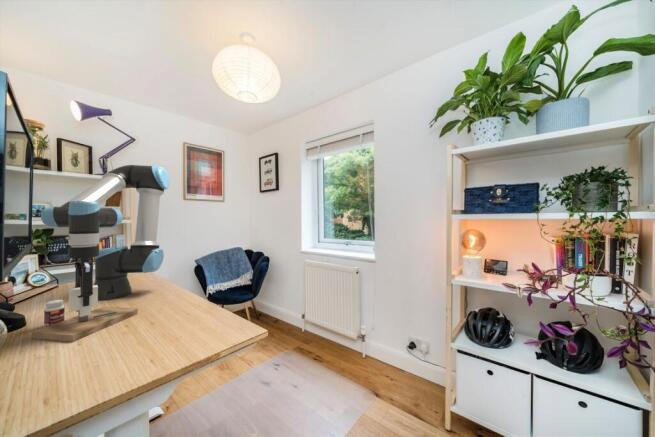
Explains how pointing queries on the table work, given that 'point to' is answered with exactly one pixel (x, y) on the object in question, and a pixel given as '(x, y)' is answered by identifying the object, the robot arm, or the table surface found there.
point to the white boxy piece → (75, 302)
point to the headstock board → (83, 325)
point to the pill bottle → (54, 312)
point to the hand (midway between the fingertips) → (83, 312)
